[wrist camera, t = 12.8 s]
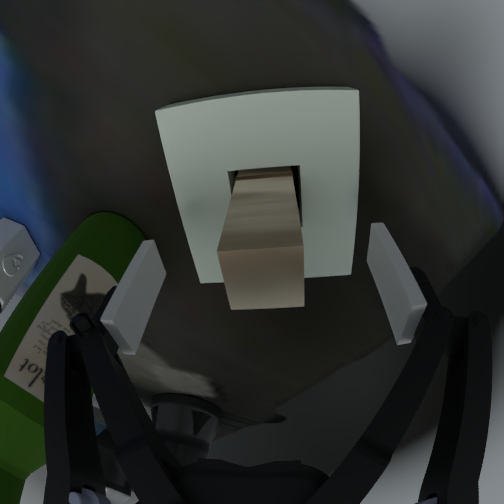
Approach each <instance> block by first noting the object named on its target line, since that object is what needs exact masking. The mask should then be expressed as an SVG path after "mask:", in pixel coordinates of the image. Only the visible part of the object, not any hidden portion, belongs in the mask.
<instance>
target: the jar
mask: <svg viewBox="0 0 504 504" xmlns="http://www.w3.org/2000/svg"><path fill="white" fill-rule="evenodd" d="M39 256H40V253H39V251H38V249H37V247H36V246H35V244H34V242H33V240H32V238H31V237H30V235H29V233H28V231H27V229H26V227H25V226H24V225H21V224H19V223H17V222H14V221H12V220H10V219H7V218H5V217H3V218H2V219H1V220H0V315H1V314H2V312H3V311H4V309H5V308H6V306H7V305H8V303H9V302H10V300H11V299H12V297H13V296H14V295H15V293H16V292H17V290H18V289H19V288H20V286H21V285H22V284H23V282H24V281H25V280H26V278H27V277H28V276H29V274H30V273H31V272H32V270H33V269H34V266H35V264H36V262H37V260H38V258H39Z"/></svg>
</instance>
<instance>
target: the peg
mask: <svg viewBox="0 0 504 504" xmlns="http://www.w3.org/2000/svg"><path fill="white" fill-rule="evenodd" d="M217 255H218V259H219V263H220V267H221V272H222V276H223V280H224V284H225V288H226V292H227V296H228V300H229V304H230V307H231V310H240V309H265V308H285V307H302V306H304V245H303V238H302V231H301V225H300V218H299V212H298V206H297V200H296V194H295V188H294V182H293V173H292V171H291V166H279V167H266V168H255V169H244V170H239V171H238V175H237V177H236V178H235V185H234V189H233V192H232V196H231V200H230V203H229V207H228V211H227V214H226V218H225V222H224V226H223V229H222V233H221V237H220V241H219V245H218V248H217Z"/></svg>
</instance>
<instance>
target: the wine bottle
mask: <svg viewBox="0 0 504 504" xmlns="http://www.w3.org/2000/svg"><path fill="white" fill-rule="evenodd" d="M145 240H146V239H145V237H144V236H143V234H142V233H141V231H140V230H139V229H138V228H137V227H136V226H135V225H134V224H133V223H132V222H131V221H129V220H127V219H126V218H124V217H123V216H120V215H118V214H115V213H110V212H100V213H95V214H93V215H91V216H89V217H88V218H86V219H85V220H84V221H83V222H82V223H81V224H80V226H79V227H78V228H77V229H76V230H75V231H74V232H73V233H72V235H71V236H70V237H69V238H68V239H67V240H66V242H65V243H64V244H63V245H62V246H61V248H60V249H59V250H58V251H57V252H56V254H55V255H54V256H53V257H52V259H51V260H50V261H49V262H48V264H47V265H46V266H45V268H44V269H43V270H42V272H41V273H40V274H39V276H38V277H37V278H36V280H35V281H34V282H33V284H32V285H31V286H30V288H29V289H28V291H27V292H26V293H25V295H24V296H23V298H22V299H21V301H20V302H19V304H18V305H17V307H16V308H15V310H14V311H13V313H12V314H11V316H10V317H9V319H8V321H7V322H6V324H5V325H4V327H3V329H2V330H1V332H0V504H20V499H21V495H22V491H23V487H24V483H25V480H26V479H27V477H28V476H29V475H30V474H31V473H32V472H34V471H35V470H37V469H39V468H40V467H41V466H43V465H45V464H46V454H45V439H44V384H45V369H46V357H47V348H48V341H49V338H50V337H51V335H52V334H53V333H54V332H56V331H59V330H63V331H65V333H66V334H67V335H68V336H70V335H74V334H75V333H74V332H73V331H72V329H71V328H70V321H71V319H72V318H73V317H74V316H75V315H76V314H78V313H80V312H88V313H89V314H90V315H91V317H92V318H94V316H95V314H96V312H97V310H98V308H99V307H100V305H101V303H102V301H103V300H104V297H105V295H106V294H107V292H108V291H109V290H110V289H111V288H112V287H113V286H118V284H119V282H120V280H121V279H122V277H123V275H124V273H125V271H126V270H127V268H128V266H129V264H130V263H131V261H132V259H133V257H134V256H135V254H136V252H137V251H138V249H139V247H140V245H141V244H142V242H143V241H145ZM91 394H92V396H93V394H94V391H93V388H92V385H91Z"/></svg>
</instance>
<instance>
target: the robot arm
mask: <svg viewBox="0 0 504 504" xmlns="http://www.w3.org/2000/svg"><path fill="white" fill-rule="evenodd" d="M367 263H368V265H369V268H370V270H371V273H372V275H373V278H374V280H375V283H376V286H377V288H378V291H379V294H380V296H381V299H382V302H383V305H384V307H385V310H386V313H387V316H388V319H389V322H390V325H391V328H392V331H393V334H394V337H395V340H396V343H397V345H399V344H406V343H411V341H412V339H413V336H415V339H416V341H417V342H416V344H415V346H414V348H413V350H412V353H411V354H410V356H409V358H408V360H407V362H406V364H405V366H404V368H403V370H402V372H401V373H400V375H399V377H398V379H397V381H396V382H395V384H394V386H393V388H392V389H391V391H390V393H389V395H388V396H387V398H386V399H385V401H384V403H383V404H382V406H381V408H380V409H379V411H378V412H377V414H376V415H375V417H374V418H373V420H372V421H371V423H370V424H369V426H368V427H367V429H366V430H365V432H364V433H363V434H362V436H361V437H360V439H359V440H358V441H357V443H356V444H355V445H354V447H353V448H352V450H351V451H350V452H349V453H348V455H347V456H346V457H345V459H344V460H343V461H342V463H341V464H340V465H339V466H338V467H337V469H336V470H335V471H334V472H333V474H332V475H331V476H330V477H329V476H328V475H327V474H325V473H324V472H322V471H321V470H319V469H317V468H314V467H311V466H308V465H303V464H301V460H296V461H274V462H270V463H265V464H261V465H256V466H252V467H244V466H241V465H237V464H233V463H230V462H227V461H224V460H217V459H208V452H209V446H210V443H211V441H212V439H213V437H214V436H215V434H216V432H217V430H218V428H219V426H220V424H221V419H222V412H221V410H220V409H219V408H218V407H216V406H215V405H213V404H211V403H209V402H206V401H204V400H201V399H198V398H194V397H190V396H185V395H179V394H159V395H156V396H155V397H154V398H153V401H152V404H151V415H152V421H151V419H150V417H149V415H148V414H147V412H146V410H145V408H144V406H143V404H142V403H141V401H140V399H139V397H138V395H137V393H136V391H135V389H134V387H133V385H132V383H131V381H130V379H129V377H128V375H127V372H126V370H125V368H124V366H123V364H122V362H121V359H120V357H119V355H118V354H117V351H118V348H120V350H121V351H122V352H123V354H131V355H136V352H137V349H138V346H139V343H140V341H141V338H142V335H143V332H144V330H145V327H146V324H147V322H148V319H149V316H150V314H151V311H152V309H153V306H154V303H155V301H156V298H157V296H158V293H159V291H160V288H161V286H162V283H163V281H164V278H165V276H166V271H165V269H164V266H163V263H162V261H161V258H160V255H159V252H158V250H157V247H156V244H155V241H154V240H145V241H143V242H142V244H141V245H140V247H139V249H138V251H137V252H136V254H135V256H134V257H133V259H132V261H131V263H130V264H129V266H128V268H127V270H126V271H125V273H124V275H123V277H122V279H121V280H120V282H119V284H118V286H113V287H112V288H111V289H110V290H109V291H108V292H107V294H106V295H105V297H104V300H103V301H102V303H101V305H100V307H99V308H98V310H97V312H96V314H95V316H94V318H92V317H91V315H90V314H89V313H88V312H80V313H78V314H76V315H75V316H74V317H73V318H72V319H71V321H70V328H71V329H72V331H73V332H74V333H75V334H74V335H70V336H68V335H67V334H66V333H65V331H63V330H59V331H56V332H54V333H53V334H52V335H51V337H50V338H49V341H48V348H47V357H46V369H45V384H44V439H45V454H46V465H47V479H46V486H45V494H44V502H43V504H122V503H123V502H125V501H127V500H129V499H130V496H131V491H132V492H134V493H135V494H136V496H137V498H138V499H139V501H138V502H137V503H136V504H360V503H361V501H362V500H363V499H364V498H365V496H366V495H367V494H368V492H369V491H370V490H371V488H372V487H373V486H374V484H375V483H376V482H377V480H378V479H379V477H380V476H381V475H382V473H383V472H384V470H385V468H386V467H387V465H388V464H389V462H390V460H391V457H392V454H393V453H394V451H395V449H396V448H397V446H398V444H399V443H400V441H401V439H402V438H403V436H404V434H405V433H406V431H407V429H408V427H409V425H410V424H411V422H412V420H413V418H414V416H415V414H416V412H417V410H418V409H419V407H420V404H421V402H422V400H423V398H424V396H425V394H426V392H427V390H428V388H429V386H430V383H431V381H432V379H433V377H434V374H435V372H436V370H437V367H438V365H439V362H440V360H441V357H442V356H449V359H448V369H447V377H446V385H445V392H444V398H443V404H442V409H441V415H440V420H439V424H438V429H437V433H436V437H435V442H434V445H433V450H432V453H431V457H430V460H429V464H428V467H427V470H426V473H425V476H424V479H423V483H422V486H421V490H420V494H419V499H418V503H415V504H479V495H478V494H479V491H478V481H479V476H480V472H481V468H482V463H483V458H484V453H485V447H486V441H487V435H488V427H489V418H490V408H491V392H492V340H491V325H490V320H489V318H488V316H487V315H486V314H485V313H484V312H482V311H479V310H474V311H471V313H470V314H469V315H468V317H462V316H456V315H453V312H452V311H451V310H450V309H448V308H447V307H445V306H442V305H441V303H440V301H439V299H438V297H437V295H436V293H435V291H434V289H433V287H432V286H431V284H430V282H429V281H428V278H427V276H426V275H425V273H424V272H423V271H422V270H421V269H420V268H419V267H408V265H407V263H406V261H405V259H404V258H403V256H402V254H401V252H400V250H399V249H398V247H397V245H396V243H395V242H394V240H393V238H392V237H391V235H390V233H389V231H388V230H387V228H386V227H385V225H384V223H371V231H370V239H369V247H368V255H367ZM91 385H92V388H93V391H94V393H95V396H96V399H97V402H98V404H99V407H100V410H101V412H102V415H103V417H104V420H105V422H106V424H107V425H103V424H100V423H98V422H95V421H94V414H93V405H92V394H91Z"/></svg>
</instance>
